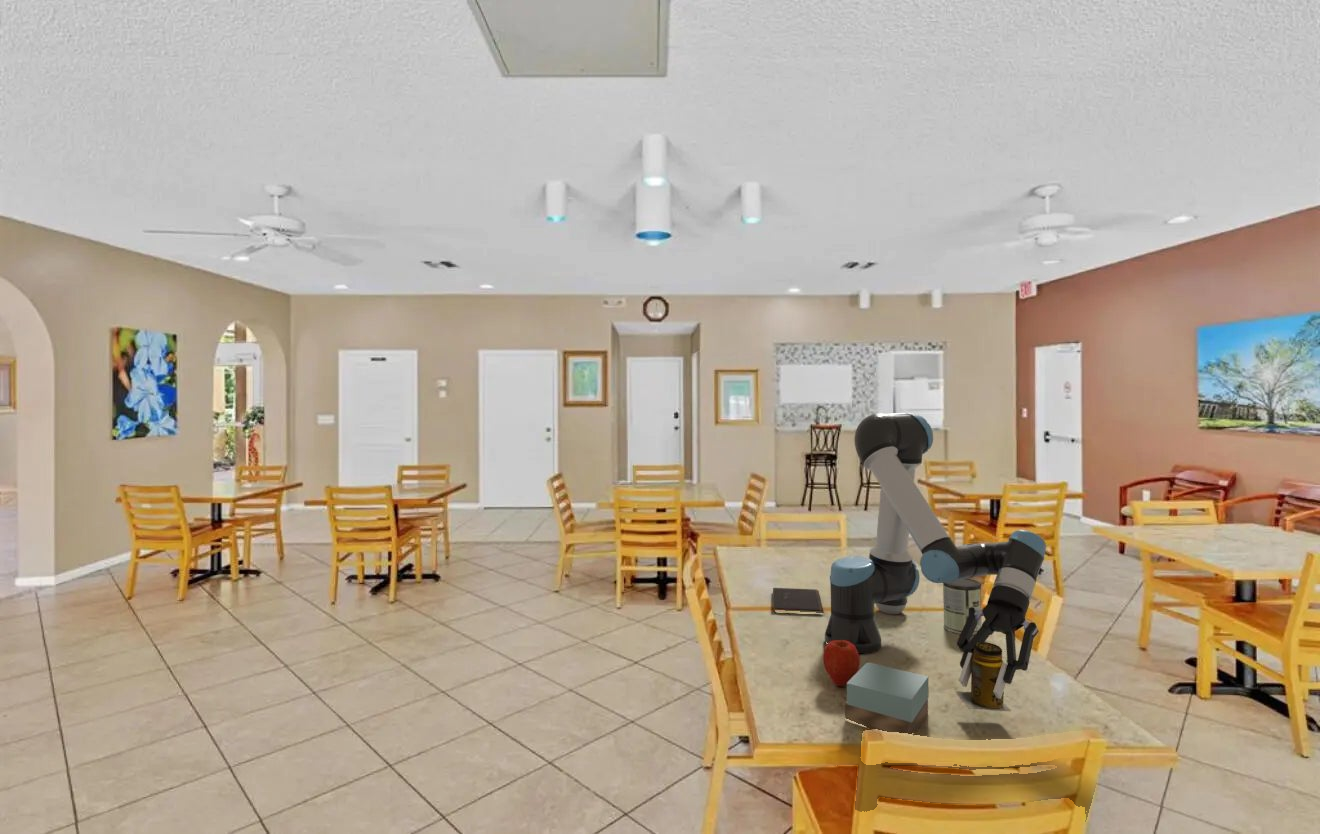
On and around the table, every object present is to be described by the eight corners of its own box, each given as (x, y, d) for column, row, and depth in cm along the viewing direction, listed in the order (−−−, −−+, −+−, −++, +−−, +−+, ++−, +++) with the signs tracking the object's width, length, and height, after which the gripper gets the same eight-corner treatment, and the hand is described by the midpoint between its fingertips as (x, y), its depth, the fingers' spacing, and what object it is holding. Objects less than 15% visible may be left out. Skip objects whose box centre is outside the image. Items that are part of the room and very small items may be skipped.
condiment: (1011, 711, 125) (1012, 653, 125) (967, 709, 126) (968, 652, 126) (995, 694, 132) (996, 639, 132) (954, 692, 133) (955, 638, 133)
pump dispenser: (913, 617, 193) (912, 568, 193) (879, 617, 194) (879, 569, 194) (901, 606, 204) (900, 561, 204) (869, 606, 204) (869, 561, 204)
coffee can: (949, 620, 190) (948, 575, 190) (985, 628, 183) (985, 580, 183) (938, 629, 182) (937, 582, 182) (976, 637, 175) (975, 588, 175)
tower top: (846, 704, 129) (846, 682, 129) (867, 682, 139) (867, 662, 139) (911, 722, 121) (911, 699, 121) (928, 697, 131) (928, 676, 131)
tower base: (845, 724, 129) (844, 702, 129) (867, 700, 139) (867, 681, 139) (908, 744, 121) (908, 721, 121) (928, 718, 131) (927, 697, 131)
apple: (844, 697, 140) (844, 650, 140) (815, 684, 147) (814, 639, 147) (867, 687, 145) (867, 641, 145) (838, 675, 152) (837, 631, 152)
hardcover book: (773, 615, 199) (772, 608, 199) (773, 594, 221) (773, 587, 221) (823, 617, 196) (823, 610, 196) (818, 595, 219) (818, 589, 219)
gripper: (1064, 614, 131) (1035, 715, 121) (971, 592, 145) (939, 682, 135) (1056, 594, 127) (1026, 698, 117) (962, 574, 142) (927, 665, 131)
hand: (979, 689), depth 126 cm, fingers closed on condiment, 6 cm apart
